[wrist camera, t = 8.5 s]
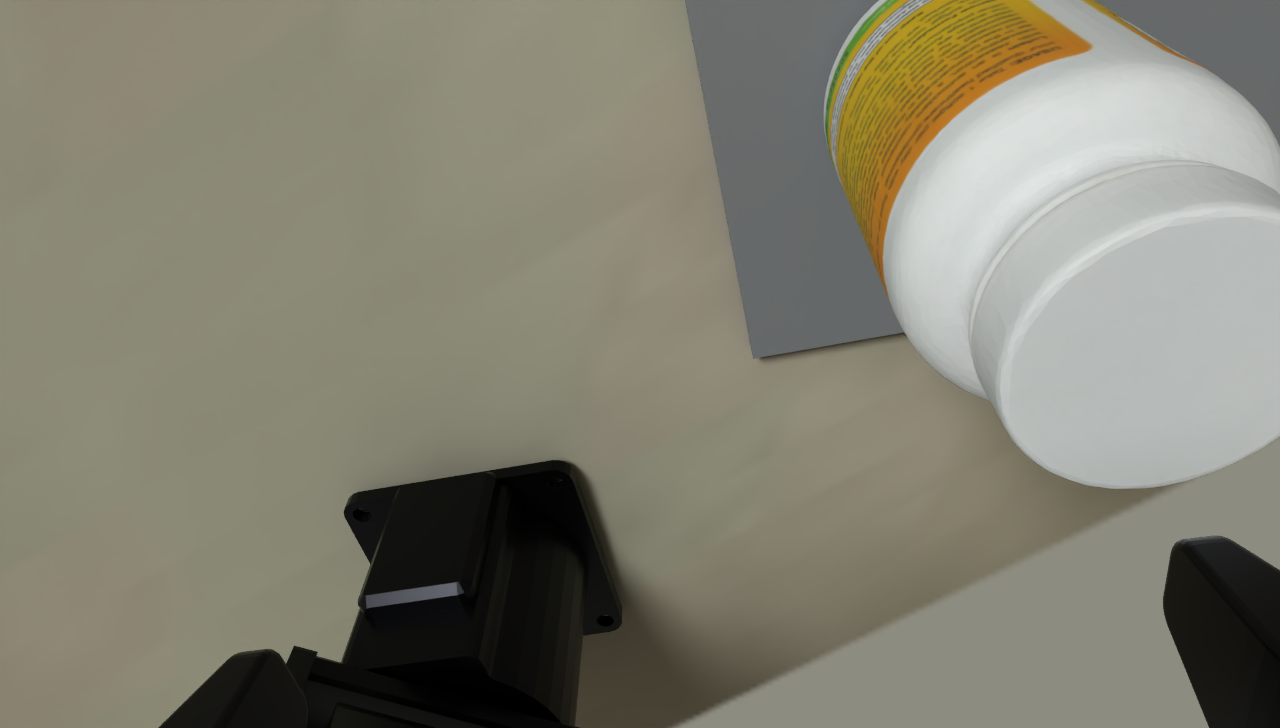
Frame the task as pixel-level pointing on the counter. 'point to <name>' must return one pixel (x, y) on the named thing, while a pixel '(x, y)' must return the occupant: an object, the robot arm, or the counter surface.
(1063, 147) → the supplement bottle
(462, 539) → the robot arm
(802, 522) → the counter surface
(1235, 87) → the mat
